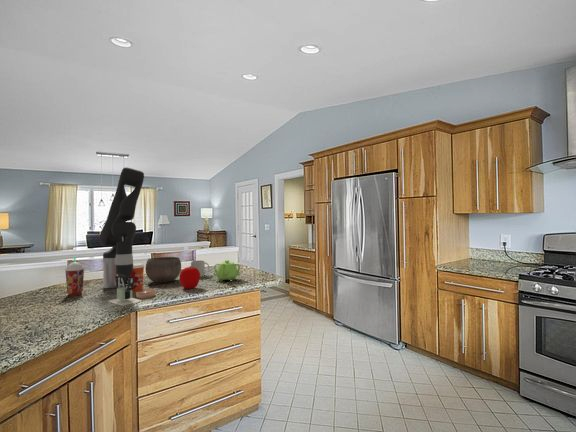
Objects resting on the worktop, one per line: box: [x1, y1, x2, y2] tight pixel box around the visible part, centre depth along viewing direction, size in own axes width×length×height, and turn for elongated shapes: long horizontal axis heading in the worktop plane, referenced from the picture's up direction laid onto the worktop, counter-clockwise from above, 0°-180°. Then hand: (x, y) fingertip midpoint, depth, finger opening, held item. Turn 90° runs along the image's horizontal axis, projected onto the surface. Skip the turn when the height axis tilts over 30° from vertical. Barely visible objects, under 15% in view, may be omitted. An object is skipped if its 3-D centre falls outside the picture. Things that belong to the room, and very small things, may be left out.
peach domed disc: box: [135, 288, 156, 299], centre depth 160 cm, size 9×9×2 cm
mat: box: [108, 297, 142, 307], centre depth 155 cm, size 17×26×1 cm, turn 144°
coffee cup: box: [130, 262, 145, 293], centre depth 171 cm, size 8×8×15 cm
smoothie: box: [64, 256, 85, 297], centre depth 166 cm, size 8×8×20 cm
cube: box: [116, 287, 133, 300], centre depth 151 cm, size 5×5×5 cm
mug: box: [190, 260, 210, 278], centre depth 213 cm, size 11×10×10 cm
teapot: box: [213, 259, 242, 282], centre depth 199 cm, size 16×14×13 cm
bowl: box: [145, 256, 182, 283], centre depth 196 cm, size 21×21×15 cm
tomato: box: [179, 265, 201, 290], centre depth 177 cm, size 11×11×13 cm
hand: (124, 298), depth 151 cm, fingers closed on cube, 4 cm apart
